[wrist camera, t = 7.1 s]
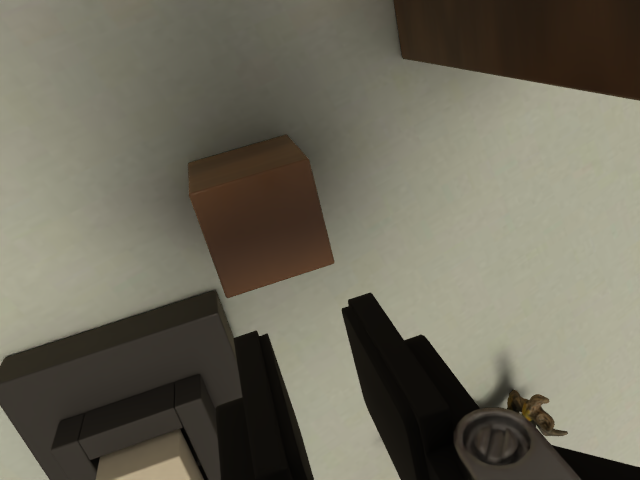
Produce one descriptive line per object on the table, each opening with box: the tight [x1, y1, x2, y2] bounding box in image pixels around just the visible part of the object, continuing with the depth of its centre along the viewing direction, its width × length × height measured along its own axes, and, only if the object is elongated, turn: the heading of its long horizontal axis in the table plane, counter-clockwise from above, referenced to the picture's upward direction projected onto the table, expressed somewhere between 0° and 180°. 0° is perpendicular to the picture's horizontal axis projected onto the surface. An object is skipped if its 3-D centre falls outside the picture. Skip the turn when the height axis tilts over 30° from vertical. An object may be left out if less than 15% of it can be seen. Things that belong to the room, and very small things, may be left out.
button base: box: [0, 290, 242, 480], centre depth 25 cm, size 12×10×4 cm
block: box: [188, 135, 334, 298], centre depth 22 cm, size 4×4×4 cm
